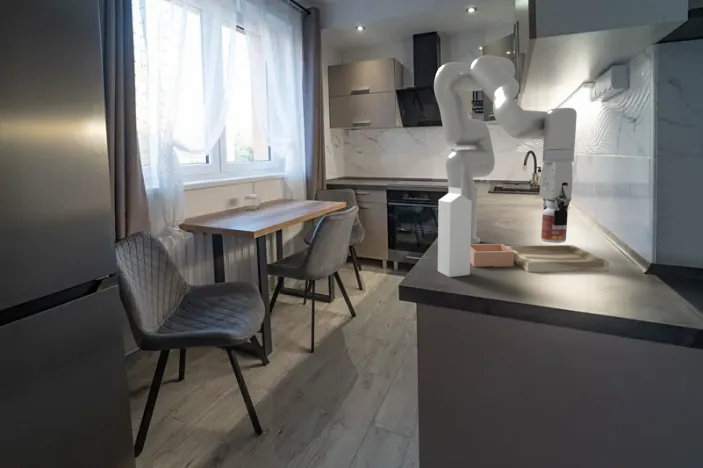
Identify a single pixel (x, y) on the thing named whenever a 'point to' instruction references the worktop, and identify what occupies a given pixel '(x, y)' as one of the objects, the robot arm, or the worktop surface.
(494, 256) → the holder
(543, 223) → the pill bottle
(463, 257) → the milk
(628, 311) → the worktop surface
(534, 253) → the tray
